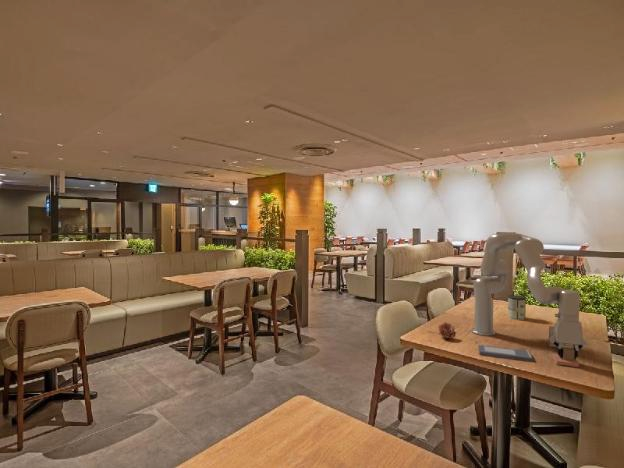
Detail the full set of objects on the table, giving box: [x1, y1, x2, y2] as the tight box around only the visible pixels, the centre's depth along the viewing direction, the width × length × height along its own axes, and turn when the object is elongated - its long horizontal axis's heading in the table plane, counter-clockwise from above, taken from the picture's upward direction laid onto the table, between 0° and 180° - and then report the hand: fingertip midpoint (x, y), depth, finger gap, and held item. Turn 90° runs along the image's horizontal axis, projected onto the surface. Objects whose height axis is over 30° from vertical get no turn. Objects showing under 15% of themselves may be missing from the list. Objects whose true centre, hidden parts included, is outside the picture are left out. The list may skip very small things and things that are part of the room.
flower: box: [438, 321, 457, 340], centre depth 195 cm, size 10×9×8 cm
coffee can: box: [507, 294, 527, 321], centre depth 235 cm, size 10×10×14 cm
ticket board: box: [477, 344, 534, 363], centre depth 172 cm, size 10×22×2 cm, turn 68°
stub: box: [551, 345, 580, 368], centre depth 162 cm, size 10×8×6 cm
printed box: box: [548, 326, 566, 349], centre depth 182 cm, size 4×7×10 cm, turn 55°
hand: (567, 357), depth 162 cm, fingers open, 4 cm apart
